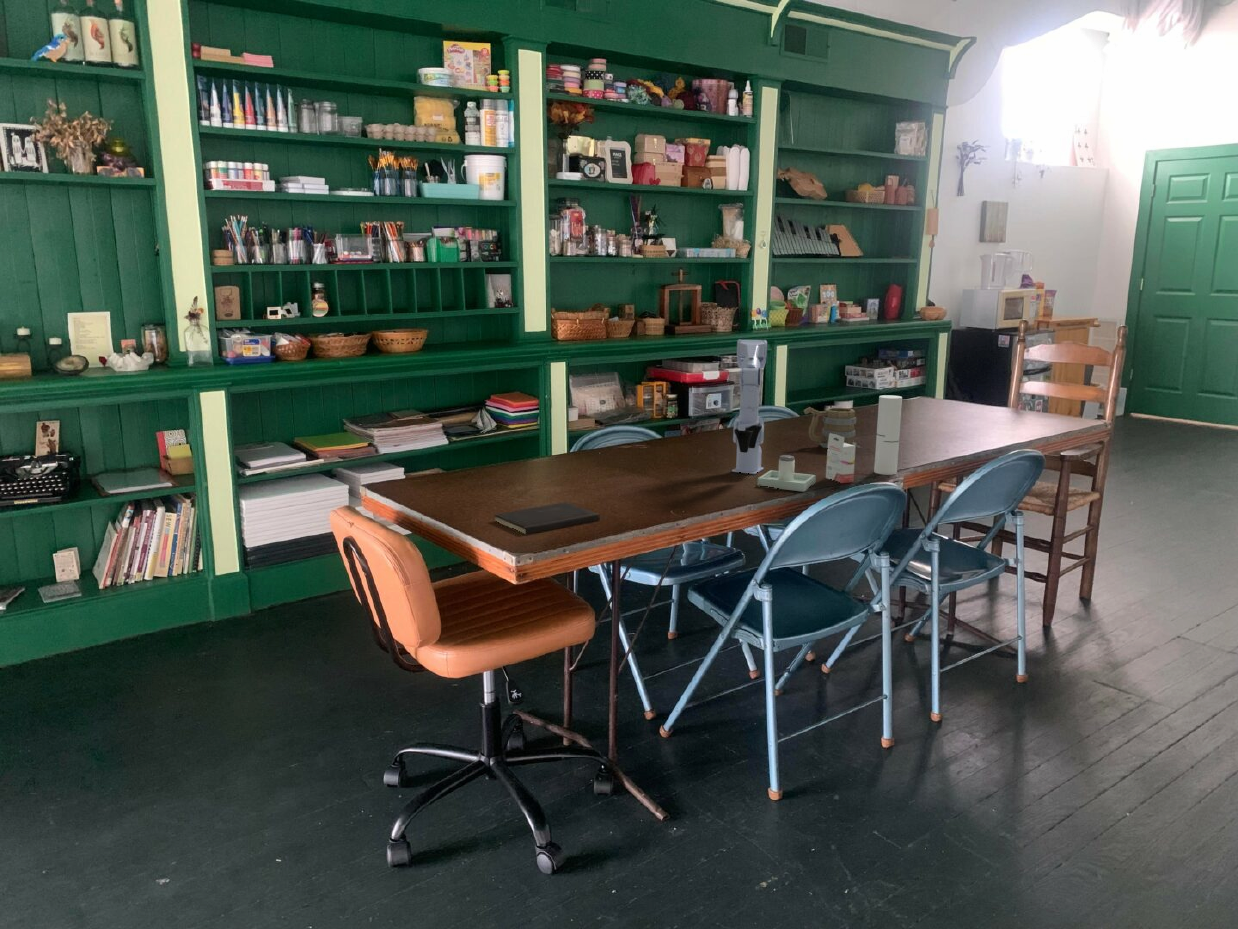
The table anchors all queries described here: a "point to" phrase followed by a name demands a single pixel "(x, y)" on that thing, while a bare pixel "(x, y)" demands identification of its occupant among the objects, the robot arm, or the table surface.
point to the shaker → (786, 468)
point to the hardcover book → (546, 517)
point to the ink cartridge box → (840, 460)
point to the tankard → (833, 425)
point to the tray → (799, 484)
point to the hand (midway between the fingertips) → (747, 450)
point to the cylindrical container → (888, 434)
